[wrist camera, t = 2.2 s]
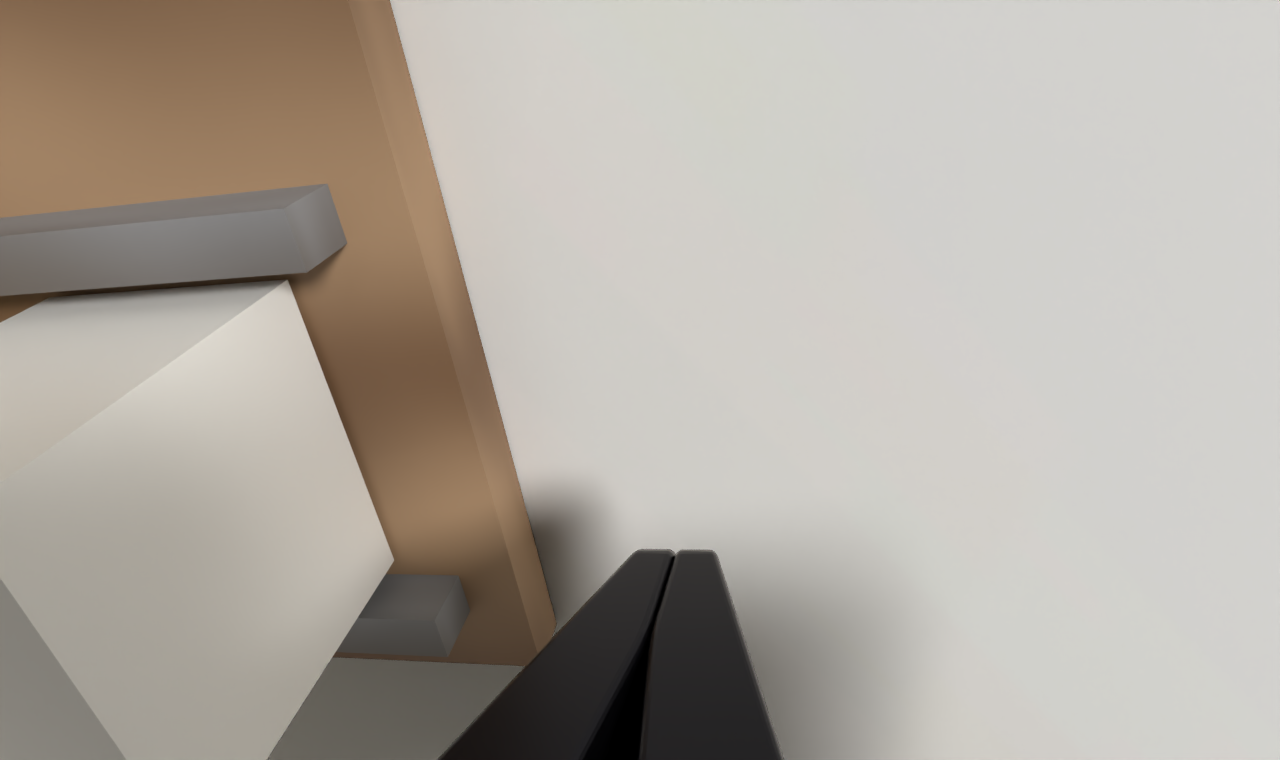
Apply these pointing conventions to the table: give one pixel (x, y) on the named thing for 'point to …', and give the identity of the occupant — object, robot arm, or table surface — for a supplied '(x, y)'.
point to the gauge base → (285, 259)
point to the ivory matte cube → (171, 524)
